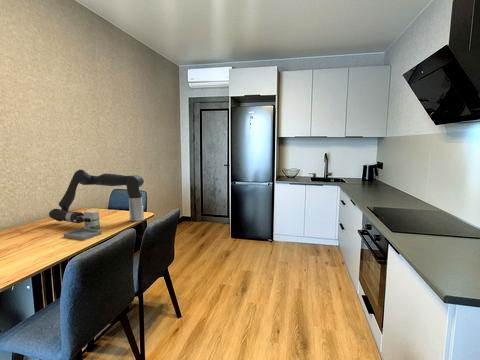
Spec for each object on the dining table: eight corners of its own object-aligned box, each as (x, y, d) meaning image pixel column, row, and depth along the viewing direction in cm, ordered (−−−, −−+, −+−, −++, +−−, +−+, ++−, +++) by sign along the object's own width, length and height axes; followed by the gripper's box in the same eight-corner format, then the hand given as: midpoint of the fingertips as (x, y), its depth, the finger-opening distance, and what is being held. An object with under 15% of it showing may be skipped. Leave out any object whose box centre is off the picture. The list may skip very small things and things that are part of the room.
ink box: (100, 228, 179) (99, 211, 178) (94, 230, 175) (93, 212, 173) (90, 227, 182) (89, 210, 181) (84, 229, 177) (83, 211, 176)
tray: (82, 230, 174) (82, 227, 174) (101, 233, 168) (101, 230, 168) (63, 237, 162) (63, 233, 162) (84, 240, 156) (83, 236, 156)
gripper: (64, 214, 176) (83, 216, 170) (83, 209, 189) (102, 211, 183) (65, 225, 176) (84, 228, 171) (84, 219, 190) (103, 222, 184)
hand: (93, 219), depth 177 cm, fingers closed on ink box, 5 cm apart
